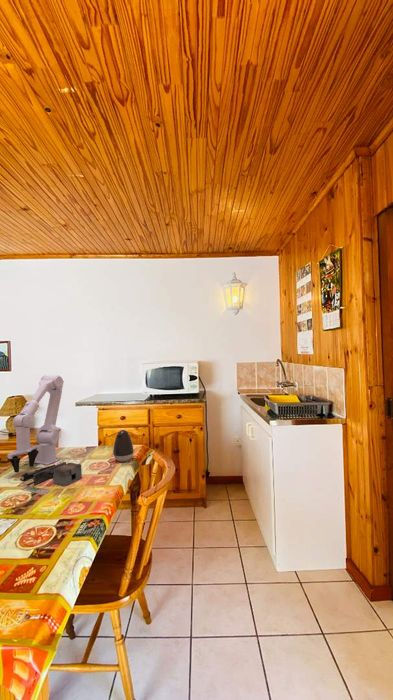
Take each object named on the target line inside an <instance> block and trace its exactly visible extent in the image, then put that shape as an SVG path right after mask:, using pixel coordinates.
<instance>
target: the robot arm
mask: <svg viewBox="0 0 393 700" xmlns="http://www.w3.org/2000/svg"><path fill="white" fill-rule="evenodd" d="M63 387H64V380H63V378H62V376H61V375H44V376H42V377H41V378H40V379H39V381H38V388H37V389H36V391H35V393H34V395H33V397H32V398H31V400H28V401H26V403H25V405H24V406H23V408H22V409H21V411H20V413H19V414H18V415H16V416H15V417H14V418H13V421H12V425H13V427H14V430H15V434H16V436H15V439H16V450H14V451H12V452H10V453H7V459H8V461H9V463H10V464H11V466H12V468H13V472H14V473H17V474H18V473H19V472H20V461H21V457H19V456H21V455H22V456H23V455H24V454H27V457H28V466H29V467H31V468H34V466H35V463H36V464H41V465H46V466H48V465H50V464H53V463H56V462H58V461H61V458H57V449H56V447H57V443H58V442H59V439H60V434H59V433H60V429H59V428H58V427H57V420H58V419H57V418H58V415H59V414H58V413H59V410H60V409H59V408H60V404H61V399H62V394H63ZM47 392H48V393H49V399H48V404H47V408H46V414H45V419H44V422H43V423H44V424H43V425H41V427H39V428H38V429H39V430H38V432H37V434H36V436H35V440H36V442H37V443H38V445H37V444H35V445H31V425H32V424H33V421H34V415H35V414H36V412H37V410H39V407H40V405H39V403H40V401H41V400H42V399H43V397H44V396H45V394H46V393H47Z"/></svg>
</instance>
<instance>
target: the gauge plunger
mask: <svg viewBox="0 0 393 700" xmlns="http://www.w3.org/2000/svg"><path fill="white" fill-rule="evenodd" d="M65 464H67V462H66V461H62V462H60V463H57V464H54V465H55V466H53V467H50V468H48V469H46V470H43V471H41V472H38V473H36V474H34V475H33V478H32V480H33V481H31V482H30V483H28V484H26V486H31V485H38V484H40V483H42V482H45V481H46V480H49V479H51V478H53V469H56V468H58V467H60V466H63V465H65ZM71 476H72V475H71Z"/></svg>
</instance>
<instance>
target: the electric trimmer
mask: <svg viewBox="0 0 393 700" xmlns="http://www.w3.org/2000/svg"><path fill="white" fill-rule="evenodd" d="M55 465H56V464H52V465H49V466H48V465H47V466H46V467H42V468H39V469H35V470H34V471H33V470H32V471H31V472H25V473H23V474H22V475H21V476H20V478H19V481H20V482H23V483H24V482H26V481H28V480H30V479H33V475H34V474H36V473H38V472H41V471H43V470H46V469H48V468H50V467H53V466H55Z"/></svg>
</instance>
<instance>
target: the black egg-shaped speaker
mask: <svg viewBox="0 0 393 700" xmlns="http://www.w3.org/2000/svg"><path fill="white" fill-rule="evenodd" d="M134 452H135V451H134V444H133V441H132V438H131V436H130V434H129V432H128V431H127V430H125V429H122V430H121V429H120V430H119V431H118V432H117V434H116V436H115V439H114V443H113V448H112V454H113V456H114V459H115V460H116V461H118V462H121V463H123V462H128V461H130V460H131V459H132V458H133V455H134Z"/></svg>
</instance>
